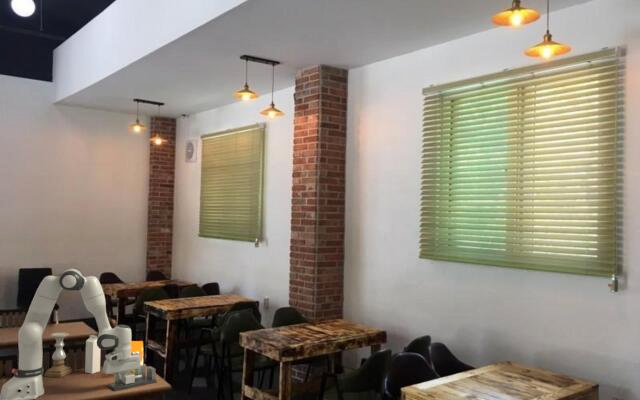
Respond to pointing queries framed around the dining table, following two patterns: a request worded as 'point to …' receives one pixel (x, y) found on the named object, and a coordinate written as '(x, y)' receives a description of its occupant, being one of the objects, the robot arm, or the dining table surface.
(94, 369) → the milk
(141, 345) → the orange juice
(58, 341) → the candle holder
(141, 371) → the bench
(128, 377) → the white block
